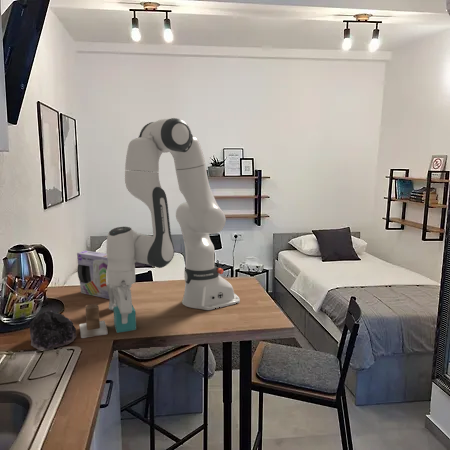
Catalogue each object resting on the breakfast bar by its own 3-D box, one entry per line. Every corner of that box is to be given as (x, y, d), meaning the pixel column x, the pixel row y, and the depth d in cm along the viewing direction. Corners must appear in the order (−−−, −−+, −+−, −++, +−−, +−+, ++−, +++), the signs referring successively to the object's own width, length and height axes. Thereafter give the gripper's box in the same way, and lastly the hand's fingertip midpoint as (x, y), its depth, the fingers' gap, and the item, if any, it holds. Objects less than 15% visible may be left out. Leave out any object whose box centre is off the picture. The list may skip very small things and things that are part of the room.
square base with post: (104, 324, 138) (103, 300, 137) (107, 334, 131) (106, 308, 129) (79, 328, 135) (78, 303, 134) (81, 338, 128) (79, 312, 126)
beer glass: (121, 312, 149) (119, 272, 146) (103, 310, 150) (101, 271, 148) (129, 305, 156) (128, 267, 153) (112, 304, 157) (110, 266, 154)
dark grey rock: (74, 351, 121) (75, 318, 120) (24, 353, 117) (25, 319, 117) (77, 335, 134) (78, 305, 133) (32, 337, 130) (33, 306, 129)
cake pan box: (77, 292, 170) (75, 251, 167) (87, 289, 175) (85, 249, 172) (110, 301, 160) (108, 257, 157) (119, 297, 165) (117, 254, 162)
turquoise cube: (132, 322, 140) (132, 304, 139) (136, 329, 134) (135, 310, 133) (114, 325, 137) (113, 306, 136) (116, 332, 132) (115, 313, 131)
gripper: (136, 285, 125) (137, 328, 127) (126, 268, 143) (127, 306, 145) (115, 287, 122) (116, 331, 124) (108, 270, 141) (109, 308, 143)
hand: (122, 317), depth 135 cm, fingers open, 8 cm apart
